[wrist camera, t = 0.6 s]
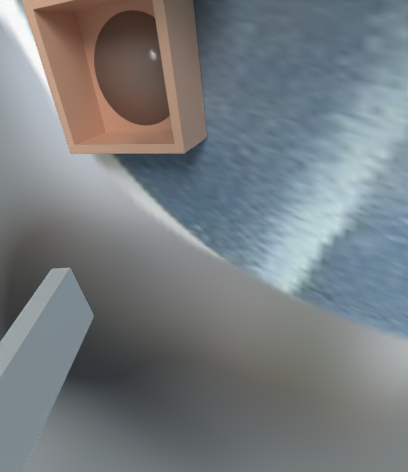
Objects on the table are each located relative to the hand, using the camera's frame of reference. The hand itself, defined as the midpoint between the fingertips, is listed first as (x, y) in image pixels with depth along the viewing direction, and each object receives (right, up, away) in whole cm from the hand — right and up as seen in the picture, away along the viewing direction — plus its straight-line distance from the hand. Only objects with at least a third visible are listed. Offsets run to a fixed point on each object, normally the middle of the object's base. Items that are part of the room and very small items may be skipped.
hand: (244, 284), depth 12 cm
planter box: (-9, +21, +25) cm, 33 cm away
